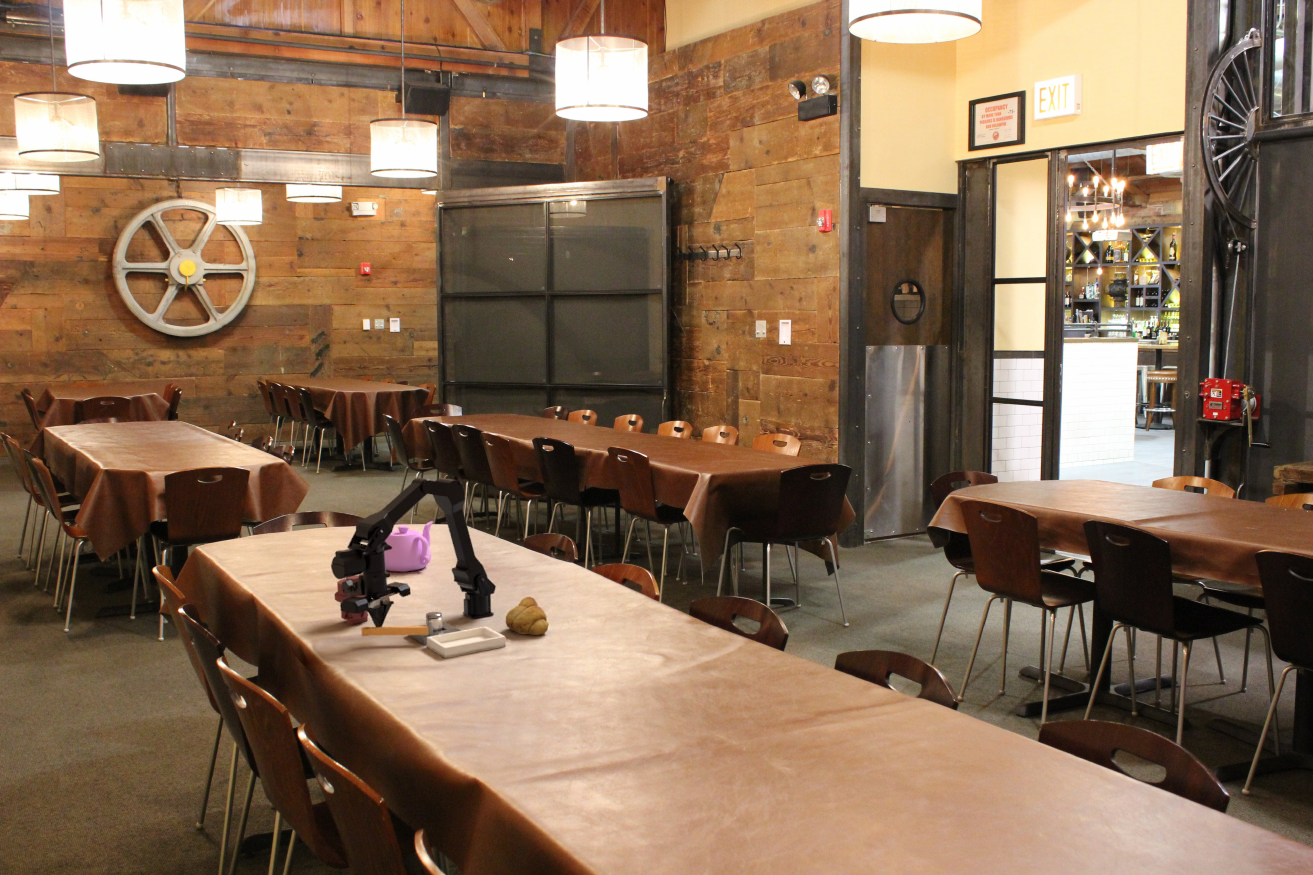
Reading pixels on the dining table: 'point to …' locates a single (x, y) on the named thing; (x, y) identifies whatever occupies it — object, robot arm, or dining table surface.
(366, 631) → the bar
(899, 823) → the dining table surface
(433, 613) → the salt shaker
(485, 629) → the tray
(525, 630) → the bread roll
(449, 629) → the hitch block
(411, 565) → the teapot
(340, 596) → the mechanical component
